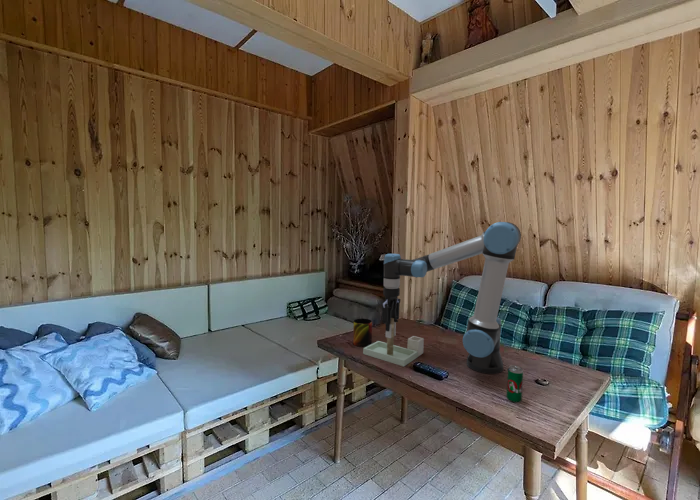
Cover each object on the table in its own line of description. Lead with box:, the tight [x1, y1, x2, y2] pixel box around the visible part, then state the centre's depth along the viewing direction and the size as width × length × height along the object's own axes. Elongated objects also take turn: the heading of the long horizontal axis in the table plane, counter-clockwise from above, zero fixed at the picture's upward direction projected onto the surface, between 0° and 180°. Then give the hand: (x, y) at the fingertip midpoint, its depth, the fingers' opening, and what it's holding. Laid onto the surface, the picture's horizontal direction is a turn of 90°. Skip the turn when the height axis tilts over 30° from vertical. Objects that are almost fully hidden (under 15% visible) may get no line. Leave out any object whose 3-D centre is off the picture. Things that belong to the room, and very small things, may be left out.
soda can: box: [505, 365, 524, 403], centre depth 124 cm, size 5×5×12 cm
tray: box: [362, 340, 419, 367], centre depth 161 cm, size 22×13×4 cm, turn 52°
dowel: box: [386, 318, 395, 355], centre depth 160 cm, size 3×3×17 cm
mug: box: [352, 318, 373, 348], centre depth 179 cm, size 10×14×12 cm
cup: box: [406, 335, 425, 357], centre depth 164 cm, size 6×6×8 cm
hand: (390, 336), depth 160 cm, fingers open, 3 cm apart
